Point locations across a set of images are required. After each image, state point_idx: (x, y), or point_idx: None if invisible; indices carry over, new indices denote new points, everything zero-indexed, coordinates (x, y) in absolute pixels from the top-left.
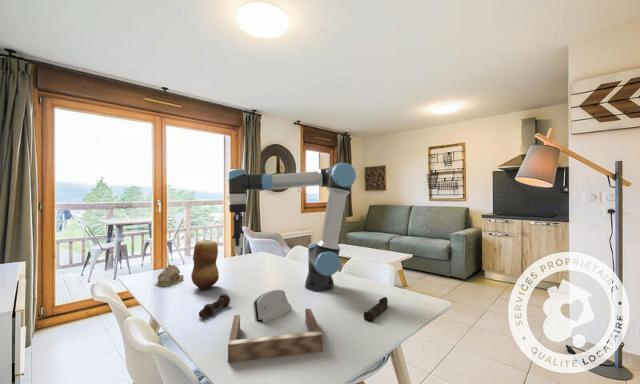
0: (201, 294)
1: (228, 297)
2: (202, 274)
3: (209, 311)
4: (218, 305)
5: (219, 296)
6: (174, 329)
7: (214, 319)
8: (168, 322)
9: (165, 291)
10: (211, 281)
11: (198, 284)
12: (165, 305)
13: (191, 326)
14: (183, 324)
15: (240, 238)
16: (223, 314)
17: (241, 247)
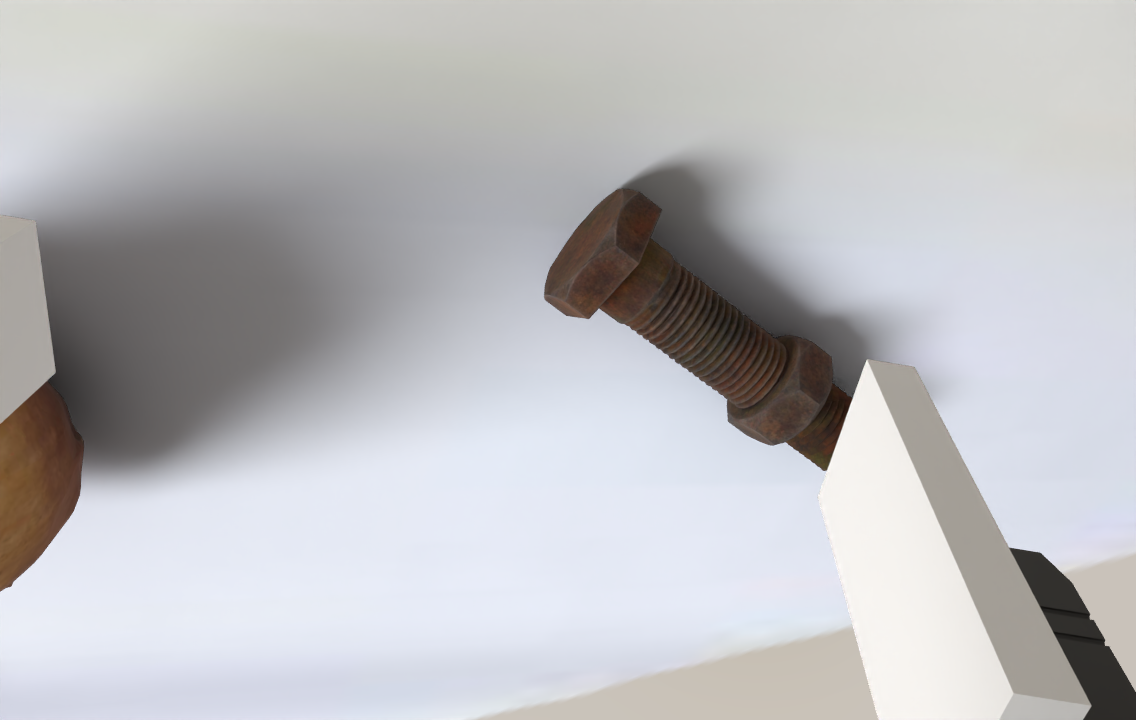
0: (185, 420)
1: (625, 222)
2: (4, 530)
3: (831, 389)
4: (730, 313)
5: (583, 317)
6: None
7: (905, 328)
8: (779, 617)
9: (44, 674)
10: None
11: (79, 495)
12: (405, 654)
13: None
14: None
15: (1081, 693)
16: (829, 250)
17: (38, 257)
